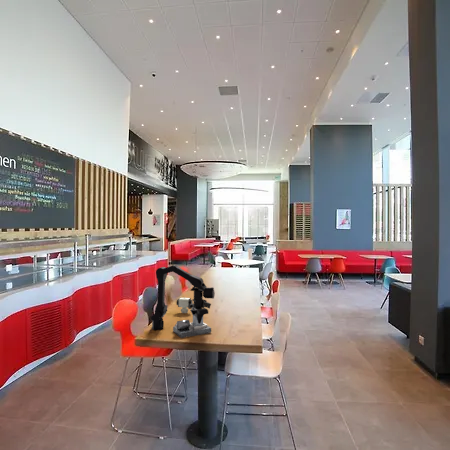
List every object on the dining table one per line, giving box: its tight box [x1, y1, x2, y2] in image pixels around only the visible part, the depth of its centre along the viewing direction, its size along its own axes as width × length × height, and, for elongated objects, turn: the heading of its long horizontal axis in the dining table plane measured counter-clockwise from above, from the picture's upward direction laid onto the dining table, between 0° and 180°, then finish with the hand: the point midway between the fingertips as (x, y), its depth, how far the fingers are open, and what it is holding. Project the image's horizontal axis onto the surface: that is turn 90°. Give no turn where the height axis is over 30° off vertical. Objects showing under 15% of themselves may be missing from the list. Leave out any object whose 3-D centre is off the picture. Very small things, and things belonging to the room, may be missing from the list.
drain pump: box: [192, 313, 204, 326], centre depth 198 cm, size 5×5×7 cm
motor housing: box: [172, 319, 212, 339], centre depth 195 cm, size 21×14×8 cm, turn 120°
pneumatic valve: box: [175, 296, 194, 314], centre depth 241 cm, size 6×12×12 cm, turn 82°
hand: (197, 322), depth 198 cm, fingers closed on drain pump, 5 cm apart
